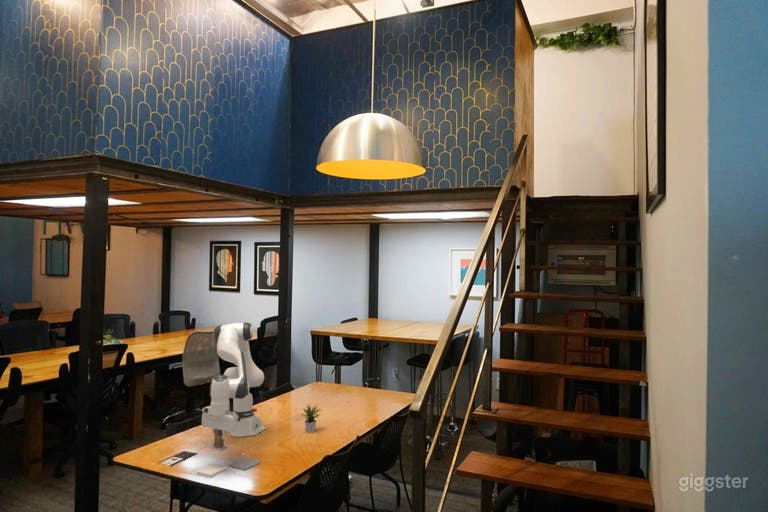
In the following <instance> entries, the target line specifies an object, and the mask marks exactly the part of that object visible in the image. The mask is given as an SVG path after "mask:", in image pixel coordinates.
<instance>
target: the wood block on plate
mask: <svg viewBox="0 0 768 512" xmlns="http://www.w3.org/2000/svg"><path fill="white" fill-rule="evenodd" d="M222 434H223V432H222V430H218V429H215V438H214V444H212V445H209V446H208V447H207V448H208V449H209V450H214V451H218V452H222V451H225V450H227V449H229V448H230V445H228V444H225V442H224V440H225V439H220V438H221V437H220V435H222Z"/></svg>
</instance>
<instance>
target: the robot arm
mask: <svg viewBox="0 0 768 512" xmlns="http://www.w3.org/2000/svg"><path fill="white" fill-rule="evenodd" d="M254 332H255V331H254V327H253V325H252V324H251V323H250V322H233V323H227V324H219V325H218V326H216V327H214V329H213V338H214V341H215V342H216V353H217V355H218V357H219V358H221V360H223V361H226V362H229V363H232V364H234V365H235V366H233V367H232V366H231V367H228V368H226V370H225V371H224V373H223V374H219V375H215V376H214V377H212V381H211V383H210V386H209V396H210V398H211V401H210V405H208V406H205V407H203V408H202V415H201V425H202V428H208V429H211V432H212V433H213V438H214V439H215V429H218V430H222V432H223V434H222V435H220V437H221V438H220V439H224V440H225V439H226V435H227V432H228V433H229V436H231V437H236V438H239V437H240V438H242V437H243V438H244V436H245V437H254V435H255V436H257V435H258V434H259V432H260V433H261V432H264V431H265V430H266V429H267V427H266V426H264V425H263V423H262V419H261V418H260V417H259V416H257V415H256V413H257V412H258V407H257V408H256V407H253V403H254V402H253V401H254V399H253V394H252V393H251V392H250V388H257V387H261V385H263V383H264V380H265V373H264V372H263V370H262V369H260V368H259V367H258V366H257V365H256V364H255V362H254V361H253V360H254V359H252V355H251V354H252V353H251V351H250V344H249V341H250V340H251V339H253V336H254ZM230 399H233V400H232V401H233V409H232V411H231V410H230ZM255 412H256V413H255ZM264 429H265V430H264Z"/></svg>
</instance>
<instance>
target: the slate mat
mask: <svg viewBox="0 0 768 512" xmlns="http://www.w3.org/2000/svg"><path fill="white" fill-rule="evenodd" d="M257 464H258V465H260V464H261V461H259V460H253V459H251V458H250V459H249V458H241V459H239V460H237V461H234V462H233V463H230V464H229V465H228V468H229V467H230V468H234V469H238V470H242V471H248V470H250V469H252V468H254V467H255V466H257Z"/></svg>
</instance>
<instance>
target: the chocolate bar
mask: <svg viewBox="0 0 768 512" xmlns="http://www.w3.org/2000/svg"><path fill="white" fill-rule="evenodd" d="M196 454H197V455H199V454H198V452H192V451H186V450H184V451H181V452H179V453H176V454H174V455H172V456H170V457H168V458H166V459H163V460H161V461H159V462H157V464H158V463H162V464H166V465H165V466H167V465H170V466H169V467H173V465H174V466H176V465H178V464H180V463H182V462H184V461H186V459H187V460H189V459H191V458H193V457H195V456H197V455H196ZM194 455H195V456H194ZM192 456H193V457H192ZM190 457H191V458H190ZM188 458H189V459H188ZM183 460H184V461H183ZM181 461H182V462H181ZM179 462H180V463H179ZM177 463H178V464H177ZM162 464H161V465H162ZM175 464H176V465H175Z"/></svg>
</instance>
